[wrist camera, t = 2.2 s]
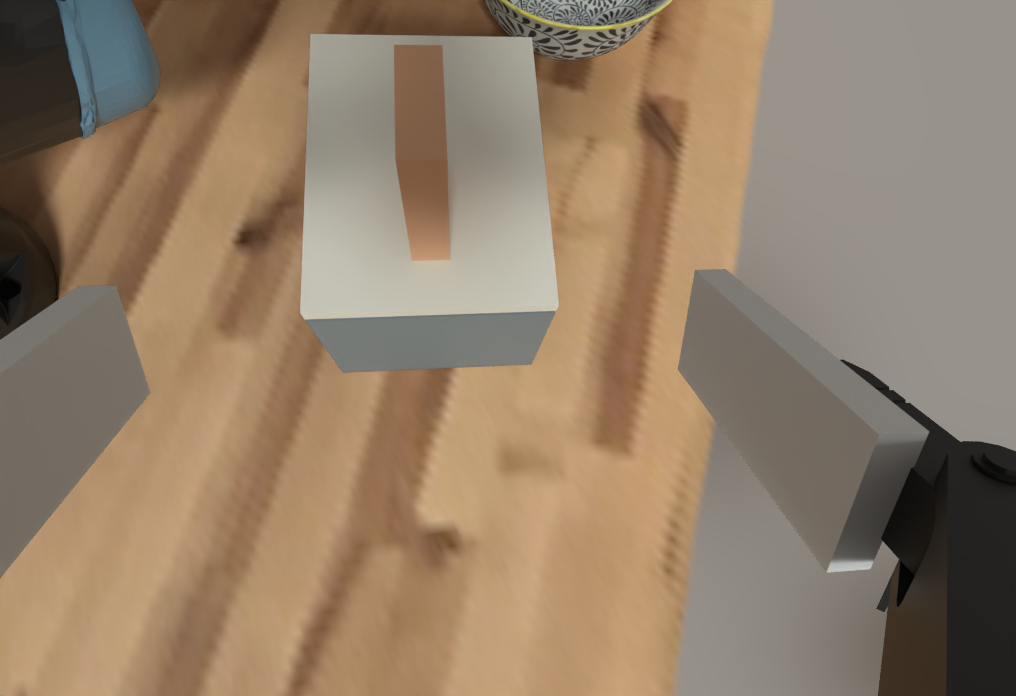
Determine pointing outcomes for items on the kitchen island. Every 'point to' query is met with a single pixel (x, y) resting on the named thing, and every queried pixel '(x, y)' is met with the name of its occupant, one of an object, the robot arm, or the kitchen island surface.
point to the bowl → (574, 24)
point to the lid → (424, 179)
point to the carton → (432, 340)
